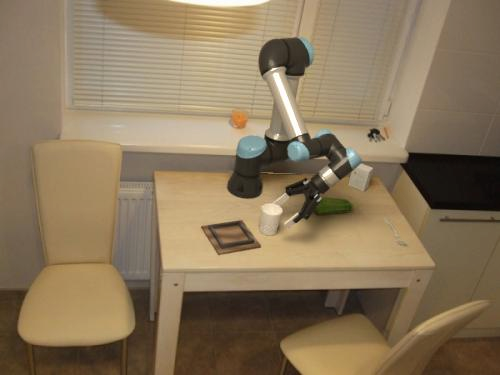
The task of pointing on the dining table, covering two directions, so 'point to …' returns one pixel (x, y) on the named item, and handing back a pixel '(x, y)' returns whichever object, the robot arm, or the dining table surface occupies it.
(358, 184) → the small box
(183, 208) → the dining table surface
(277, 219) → the white cup
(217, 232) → the dock board
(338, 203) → the vegetable
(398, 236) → the fork
